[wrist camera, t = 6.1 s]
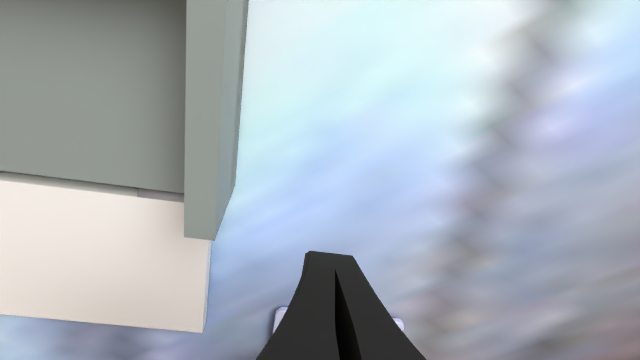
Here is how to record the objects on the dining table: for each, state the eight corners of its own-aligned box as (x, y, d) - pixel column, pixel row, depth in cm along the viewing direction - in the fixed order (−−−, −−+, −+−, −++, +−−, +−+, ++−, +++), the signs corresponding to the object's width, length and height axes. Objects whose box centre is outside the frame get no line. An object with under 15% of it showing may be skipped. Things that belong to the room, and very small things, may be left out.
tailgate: (206, 320, 23) (202, 332, 23) (-48, 296, 22) (-64, 308, 21) (214, 189, 20) (210, 196, 20) (-79, 152, 19) (-98, 158, 18)
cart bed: (235, 185, 20) (214, 240, 16) (-102, 142, 19) (-230, 190, 15) (253, -67, 16) (231, -89, 11) (-195, -150, 14) (-427, -213, 10)
